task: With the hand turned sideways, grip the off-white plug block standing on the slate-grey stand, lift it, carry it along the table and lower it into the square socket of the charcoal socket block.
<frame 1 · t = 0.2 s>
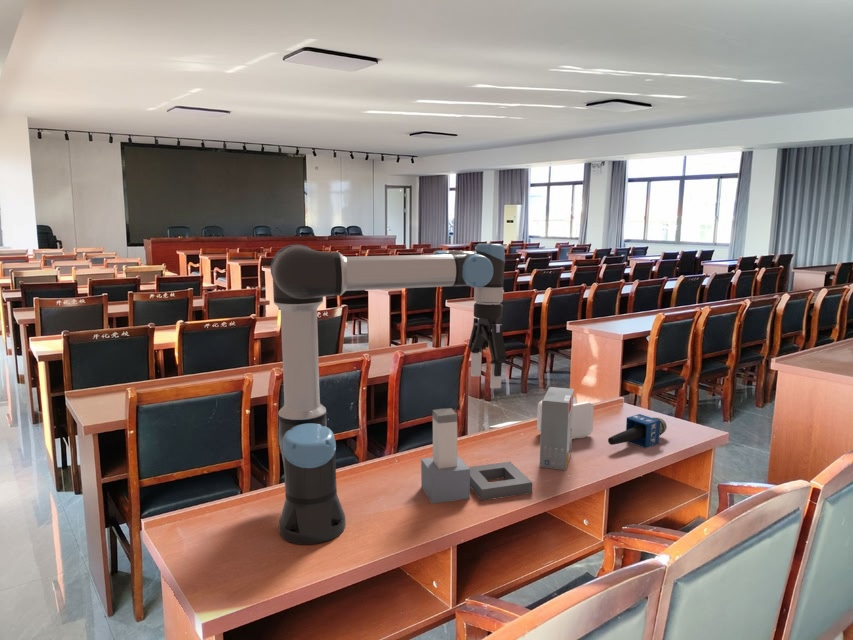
hand: (485, 382, 163), 27 cm above the table, tool pointing down, fingers open, 13 cm apart
stand: (445, 492, 159), on the table
hard drive box: (556, 459, 180), on the table
plug: (445, 463, 158), point 8 cm above the table, touching stand
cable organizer: (564, 435, 200), on the table
socket block: (496, 485, 163), on the table
microphone: (636, 444, 192), on the table
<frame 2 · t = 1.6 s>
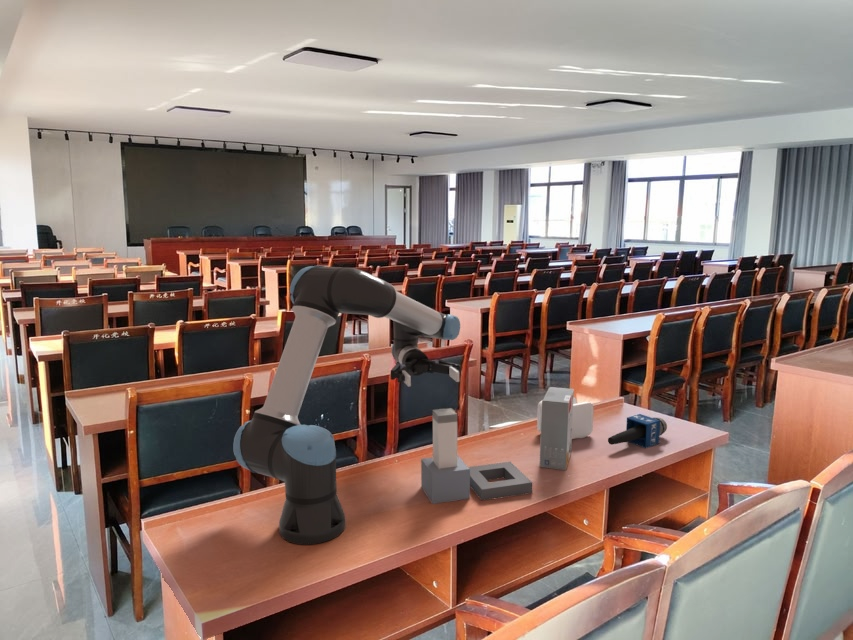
hand: (434, 379, 164), 28 cm above the table, tool horizontal, fingers open, 13 cm apart
nothing on the table moved.
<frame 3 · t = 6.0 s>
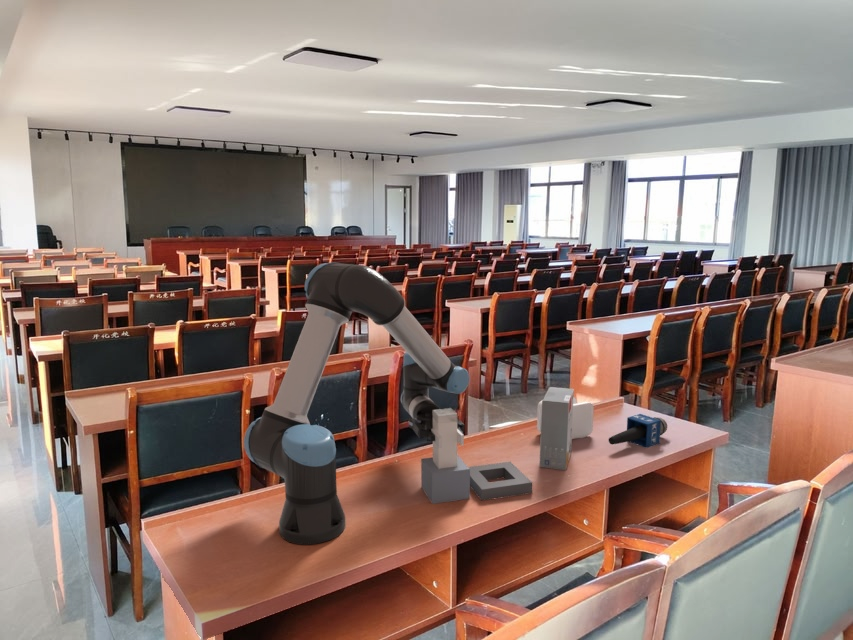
hand: (451, 441, 152), 16 cm above the table, tool horizontal, fingers closed on plug, 5 cm apart
plug: (445, 463, 158), point 8 cm above the table, touching gripper, stand
everything else where it was.
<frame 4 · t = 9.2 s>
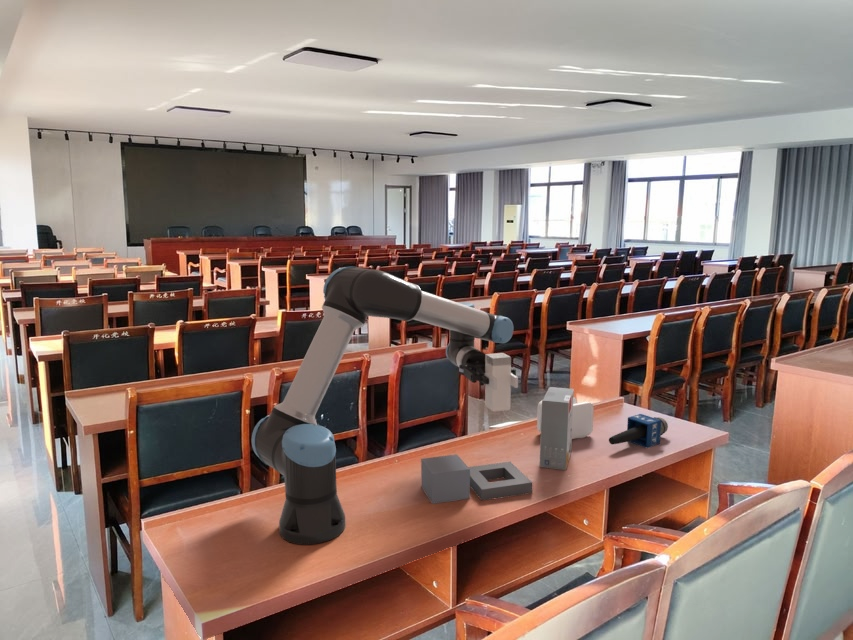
hand: (506, 383, 153), 30 cm above the table, tool horizontal, fingers closed on plug, 5 cm apart
plug: (497, 407, 160), point 22 cm above the table, touching gripper
everything else where it was.
when the fingers open (10 cm above the table, at t = 12.4 s): plug drops 2 cm, resting in socket block.
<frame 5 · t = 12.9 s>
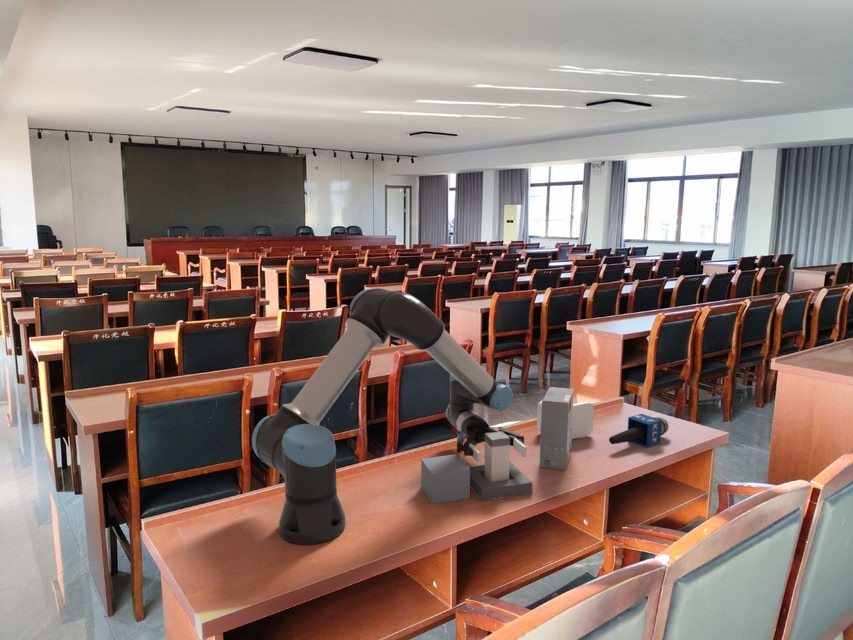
hand: (502, 455, 158), 10 cm above the table, tool horizontal, fingers open, 12 cm apart
plug: (496, 485, 164), resting in socket block
everything else where it was.
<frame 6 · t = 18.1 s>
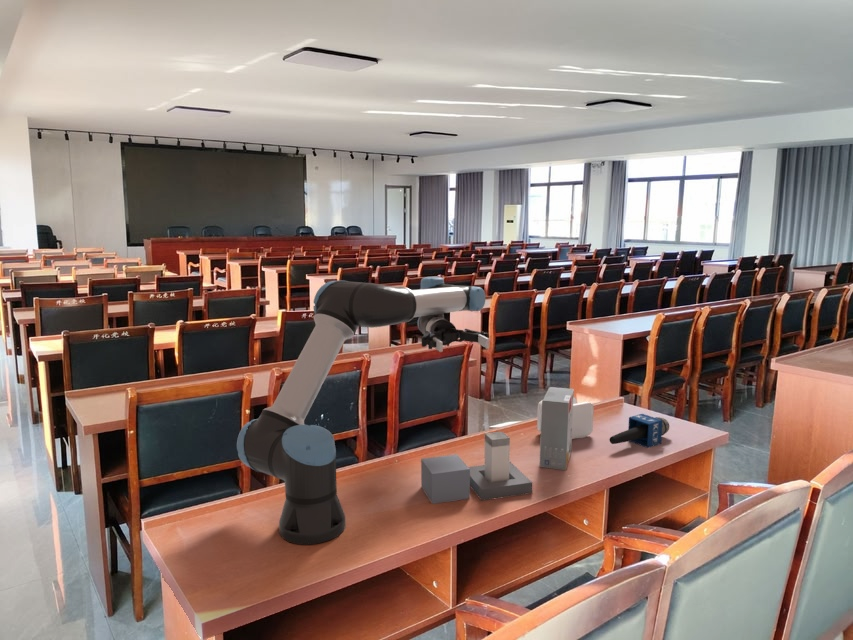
hand: (464, 345, 168), 36 cm above the table, tool horizontal, fingers open, 13 cm apart
nothing on the table moved.
at the end: plug 0.1 cm off-centre on the socket block, point 0.0 cm above the socket block's base; plug tilted 0°; the gripper is holding nothing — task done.
